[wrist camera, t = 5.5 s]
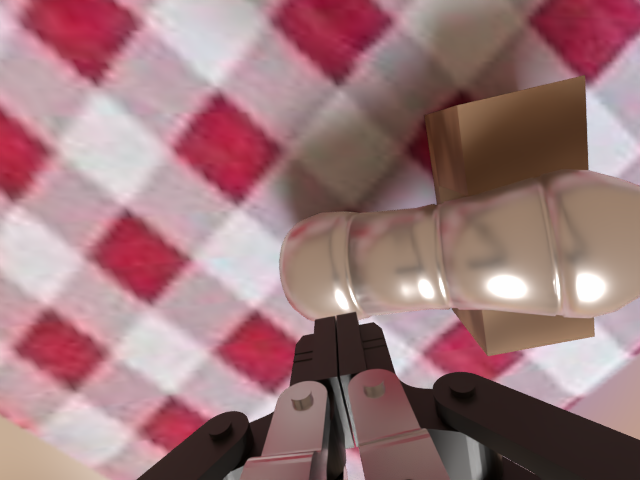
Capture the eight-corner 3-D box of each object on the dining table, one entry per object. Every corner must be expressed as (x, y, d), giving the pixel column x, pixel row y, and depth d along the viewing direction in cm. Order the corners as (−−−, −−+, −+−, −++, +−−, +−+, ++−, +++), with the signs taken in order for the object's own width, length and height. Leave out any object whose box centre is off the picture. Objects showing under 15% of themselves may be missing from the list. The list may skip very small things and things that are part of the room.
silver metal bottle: (316, 224, 26) (689, 157, 17) (324, 319, 25) (722, 305, 16) (260, 212, 20) (776, 100, 11) (268, 334, 20) (834, 325, 10)
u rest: (424, 115, 23) (457, 105, 17) (518, 93, 23) (584, 75, 17) (452, 310, 27) (487, 356, 21) (535, 293, 26) (594, 336, 20)
